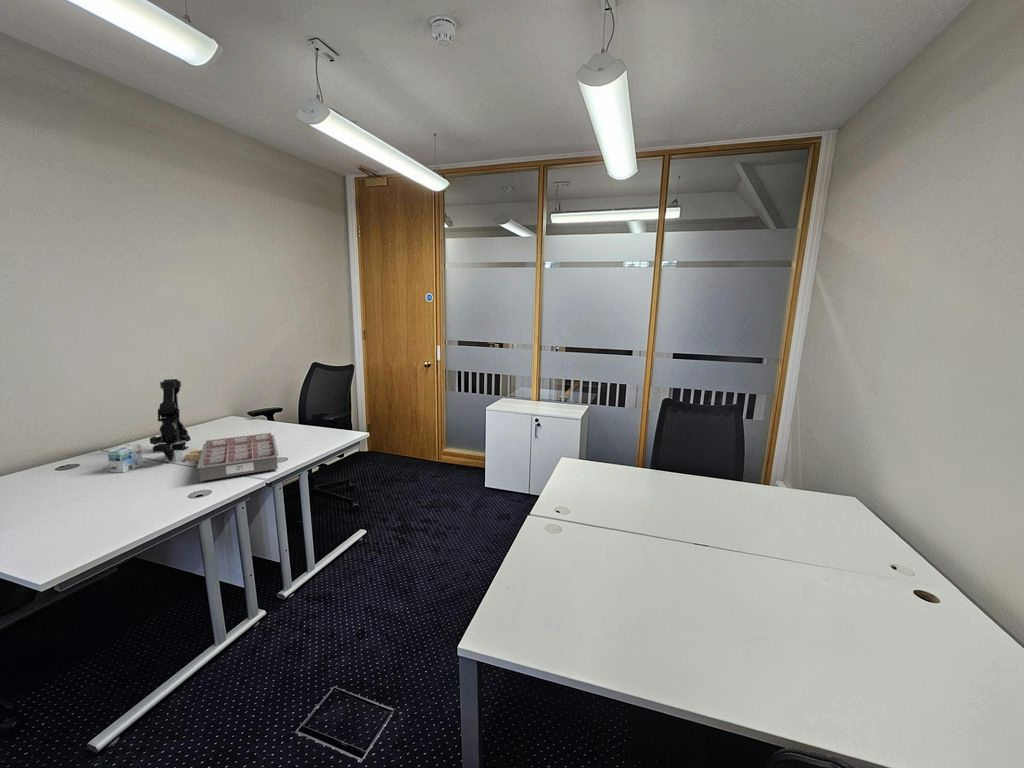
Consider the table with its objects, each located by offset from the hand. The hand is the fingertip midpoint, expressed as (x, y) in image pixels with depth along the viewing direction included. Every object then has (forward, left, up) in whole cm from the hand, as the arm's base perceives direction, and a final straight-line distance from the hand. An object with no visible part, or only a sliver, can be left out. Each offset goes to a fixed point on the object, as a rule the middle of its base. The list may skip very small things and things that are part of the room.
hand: (174, 459), depth 213 cm
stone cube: (0, 0, -1) cm, 1 cm away
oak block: (-3, +10, -1) cm, 11 cm away
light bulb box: (+10, -15, -1) cm, 18 cm away
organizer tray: (+6, +36, -1) cm, 37 cm away
